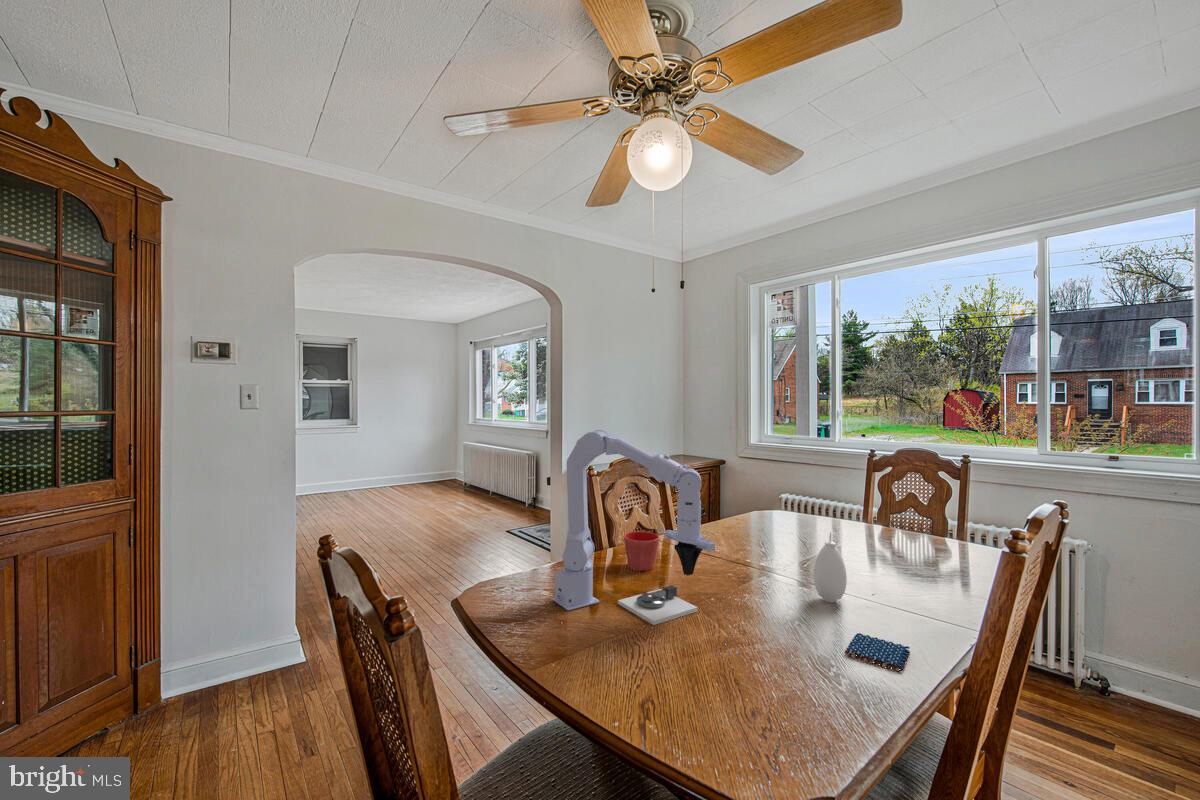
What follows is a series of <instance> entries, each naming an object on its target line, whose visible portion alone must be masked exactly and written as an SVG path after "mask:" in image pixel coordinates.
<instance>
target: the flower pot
mask: <svg viewBox="0 0 1200 800" xmlns="http://www.w3.org/2000/svg"><path fill="white" fill-rule="evenodd" d="M623 540H624V541H623V542H624V547H625V553H626V559H627V564H628V568H629V569H631V570H633V571H638V572H642V571H644V572H646V571H648V572H649V571H652V570H653V569H654V567H655V562H656V558H657V553H658V547H659V541H660V536H659V535H658V534H656V533H654V532H650V531H642V530H640V531H639V530H637V531H630V532H626V533H625V534H624V535H623Z"/></svg>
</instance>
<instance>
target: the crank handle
mask: <svg viewBox="0 0 1200 800" xmlns="http://www.w3.org/2000/svg"><path fill="white" fill-rule="evenodd" d="M658 590H659V589H658ZM654 591H655V590H654ZM641 594H642V595H641V596H639V597H638V598H637V604H638V605H640V606H642V607H646V608H659V607H662V606H663V605H664V604H665V599H664V598H662V597H663V596H664V597H666V598H668V599H669V598H672V597H677V596H678V587H677V586H674V585H668V586H664V587H662V589H661V590H659V591H655V592H652V593H647V592H643V593H641Z"/></svg>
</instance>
